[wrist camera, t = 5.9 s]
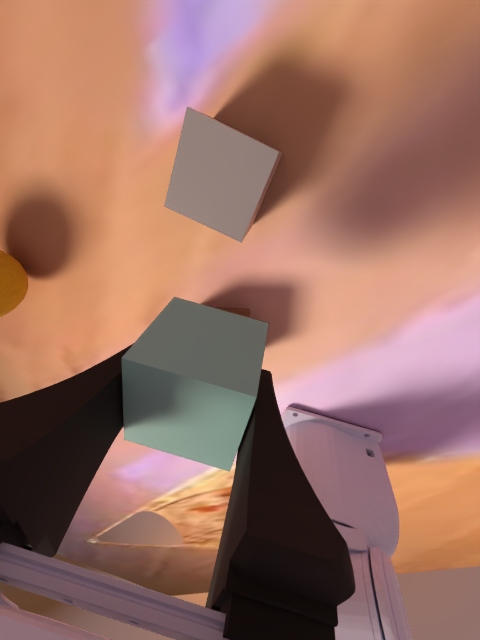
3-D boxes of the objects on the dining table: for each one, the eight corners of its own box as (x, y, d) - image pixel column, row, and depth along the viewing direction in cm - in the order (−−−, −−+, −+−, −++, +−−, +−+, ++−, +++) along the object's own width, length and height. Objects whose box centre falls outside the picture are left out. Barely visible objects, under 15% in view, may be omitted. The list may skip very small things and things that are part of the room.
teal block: (268, 323, 12) (256, 397, 9) (246, 390, 15) (229, 471, 11) (174, 296, 13) (121, 358, 9) (167, 367, 15) (124, 439, 11)
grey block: (283, 152, 16) (279, 151, 12) (252, 224, 18) (241, 242, 15) (213, 118, 16) (187, 106, 12) (191, 195, 18) (164, 206, 14)
